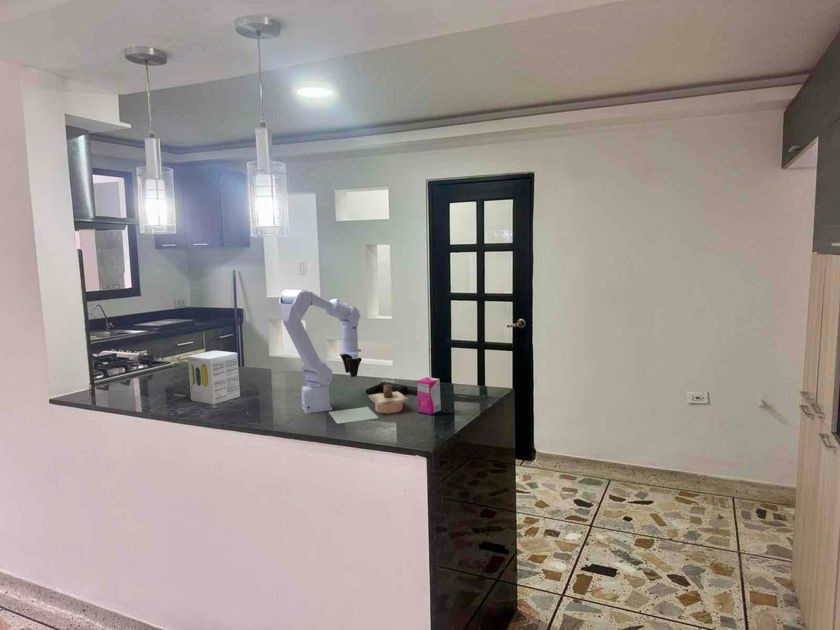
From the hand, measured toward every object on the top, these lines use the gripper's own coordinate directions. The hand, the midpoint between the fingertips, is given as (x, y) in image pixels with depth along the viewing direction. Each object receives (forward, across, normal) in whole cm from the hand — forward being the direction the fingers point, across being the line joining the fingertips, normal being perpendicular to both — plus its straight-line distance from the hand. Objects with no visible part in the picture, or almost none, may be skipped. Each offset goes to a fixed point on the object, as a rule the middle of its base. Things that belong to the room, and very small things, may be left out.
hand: (351, 374), depth 209 cm
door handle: (+10, 0, -15) cm, 18 cm away
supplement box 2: (+10, -28, -20) cm, 36 cm away
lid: (+5, -20, -8) cm, 22 cm away
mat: (+9, -21, +5) cm, 24 cm away
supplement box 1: (+10, +24, +48) cm, 55 cm away
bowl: (+9, -20, -8) cm, 24 cm away
